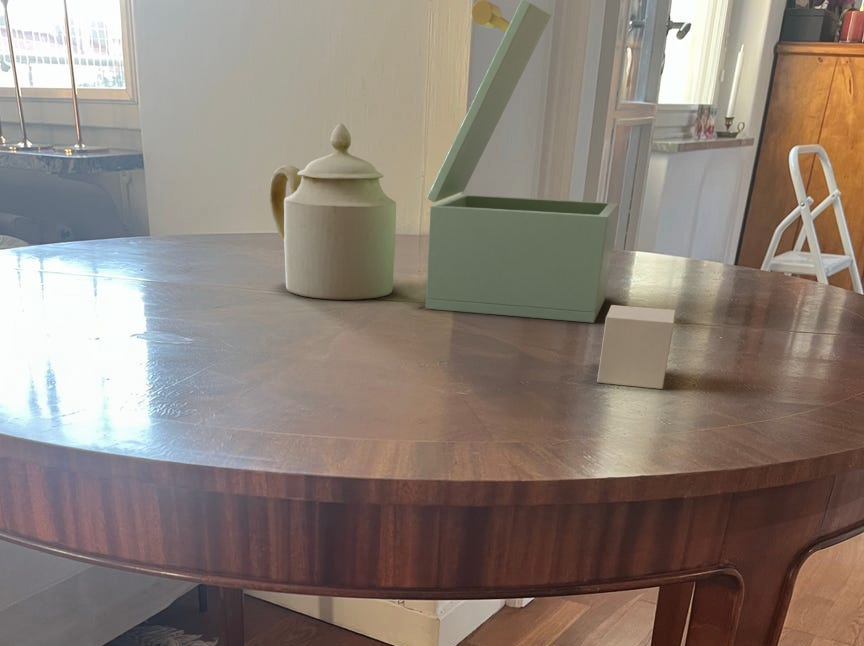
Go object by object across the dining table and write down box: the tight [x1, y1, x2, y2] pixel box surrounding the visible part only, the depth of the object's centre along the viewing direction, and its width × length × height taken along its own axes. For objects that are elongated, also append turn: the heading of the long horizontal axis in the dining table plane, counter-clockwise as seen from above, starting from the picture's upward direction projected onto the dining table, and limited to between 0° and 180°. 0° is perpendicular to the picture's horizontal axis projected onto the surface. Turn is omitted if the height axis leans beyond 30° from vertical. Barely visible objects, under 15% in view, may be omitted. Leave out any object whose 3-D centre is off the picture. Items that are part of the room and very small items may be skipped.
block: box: [596, 304, 676, 390], centre depth 69 cm, size 5×5×5 cm
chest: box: [425, 193, 619, 324], centre depth 91 cm, size 16×13×9 cm
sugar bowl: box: [269, 122, 397, 301], centre depth 94 cm, size 15×11×15 cm
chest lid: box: [426, 0, 552, 203], centre depth 86 cm, size 17×13×5 cm
